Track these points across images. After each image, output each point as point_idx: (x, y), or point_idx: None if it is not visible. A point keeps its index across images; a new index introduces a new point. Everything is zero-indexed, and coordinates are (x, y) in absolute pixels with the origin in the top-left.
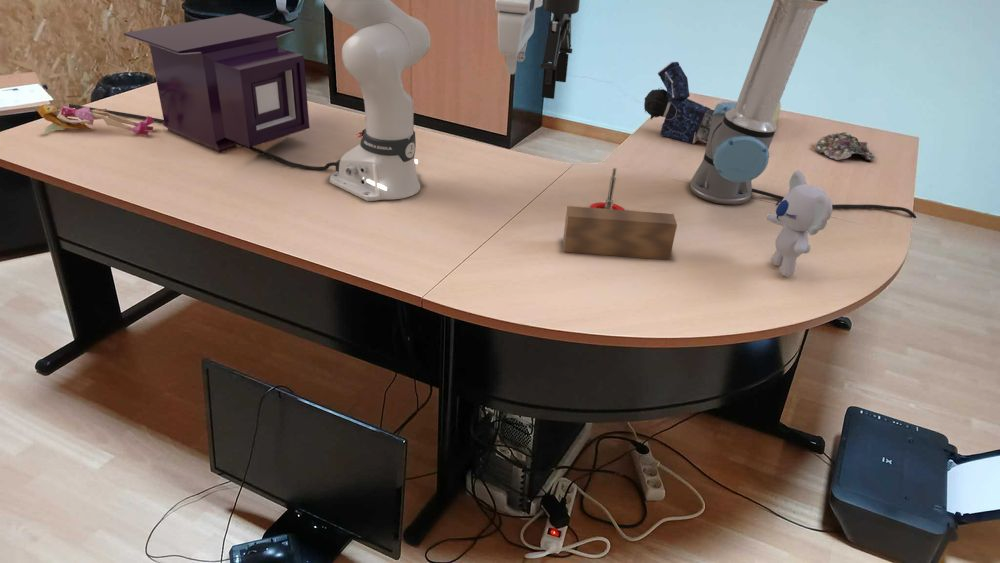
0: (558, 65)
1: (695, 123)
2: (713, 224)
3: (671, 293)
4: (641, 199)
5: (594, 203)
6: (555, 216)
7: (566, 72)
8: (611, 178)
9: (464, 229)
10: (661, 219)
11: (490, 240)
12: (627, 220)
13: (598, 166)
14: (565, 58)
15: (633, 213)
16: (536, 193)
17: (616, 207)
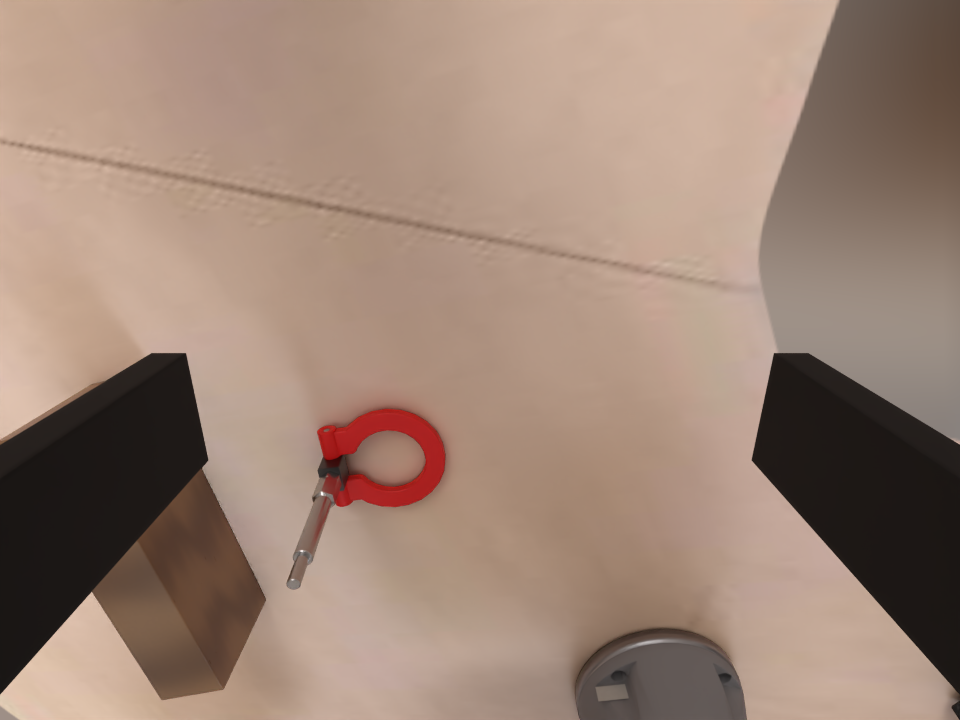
0: (890, 475)
1: None
2: (451, 677)
3: (68, 620)
4: (533, 526)
5: (415, 421)
6: (297, 317)
7: (822, 521)
8: (295, 552)
9: (20, 29)
10: (164, 668)
11: (11, 152)
12: (96, 596)
13: (761, 379)
14: (953, 646)
15: (155, 605)
16: (443, 216)
17: (417, 482)
